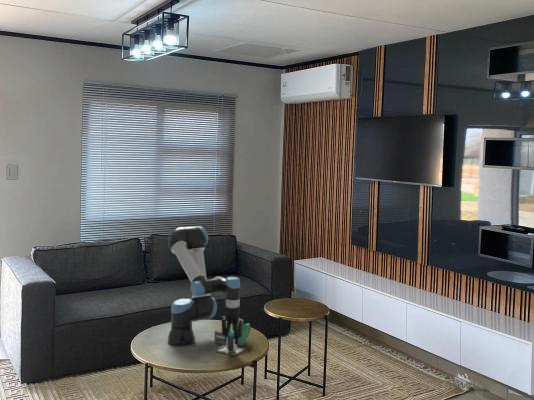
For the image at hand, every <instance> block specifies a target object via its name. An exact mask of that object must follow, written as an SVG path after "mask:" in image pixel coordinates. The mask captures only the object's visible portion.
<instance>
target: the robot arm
mask: <svg viewBox="0 0 534 400" xmlns="http://www.w3.org/2000/svg"><path fill="white" fill-rule="evenodd" d="M208 241H209V234H208V232H207V230H206V229H205V228H204V227H203V226H198V225H196V226H195V225H194V226H180V227H176V228H175V229H173V230H172V231H171V233H170V234H169V237H168V248H169V250H170V251H171V253H172V254H174V255H175V256H176V258H177V260H178V262H179V263H180V266H181V267H182V269H183V270H184V272H185V274H186V275H187V277H188V279H189V281H190V285H189V287H190V288H189V289H190V293H191V294H192V296H191V298H180V299H176V300H174V301H173V302H172V303H171V308H170V312H171V313H170V314H171V317H170V320H171V321H170V323H171V324H170V325H171V326H170V331H169V333H168V337H167V343H168V344H169V345H173V346H177V347H178V346H180V347H181V346H190V345H192V344H194V343H195V341H196V337H195V333H194V329H193V322H198V321H203V320H208V319H212V318H214V316H215V315H216V313H217V309H218V304H217V301H216V299H215V298H214V297H212V296H213V295H212V294H215V293H222V294H225V307H224V309H225V310H224V311H225V312H224V313H225V314H224V315H222V316H220V320H221V332H222V335H225V342H226V349H228V331H231V328H232V326H233V330H234V337H235V338H234V339H233V351H235V350H236V349H237V347H238V345H237V344H238V338H240V337H242V326H243V324H244V322H245V319H242V318H240V306H241V304H240V300H241V299H240V296H241V294H240V293H241V279H240V278H239V277H237V276H228V277H224V276H220V275H219V276H218V275H217V276H215V277H214V278H211V279H208V278H207V271H206V264H205V263H206V262H205V254H204V251H205V249H206V246H207V245H208ZM237 325H238V326H237Z"/></svg>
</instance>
